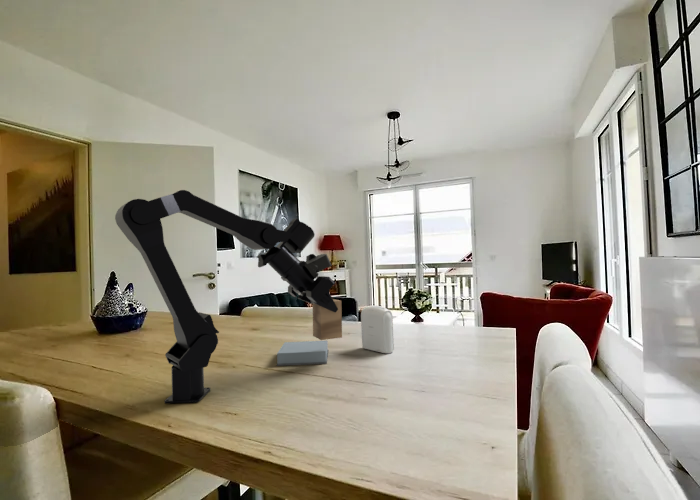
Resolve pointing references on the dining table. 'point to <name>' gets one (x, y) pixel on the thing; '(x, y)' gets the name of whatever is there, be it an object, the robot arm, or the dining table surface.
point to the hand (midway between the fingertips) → (331, 309)
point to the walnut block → (327, 322)
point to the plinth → (303, 353)
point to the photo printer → (377, 329)
